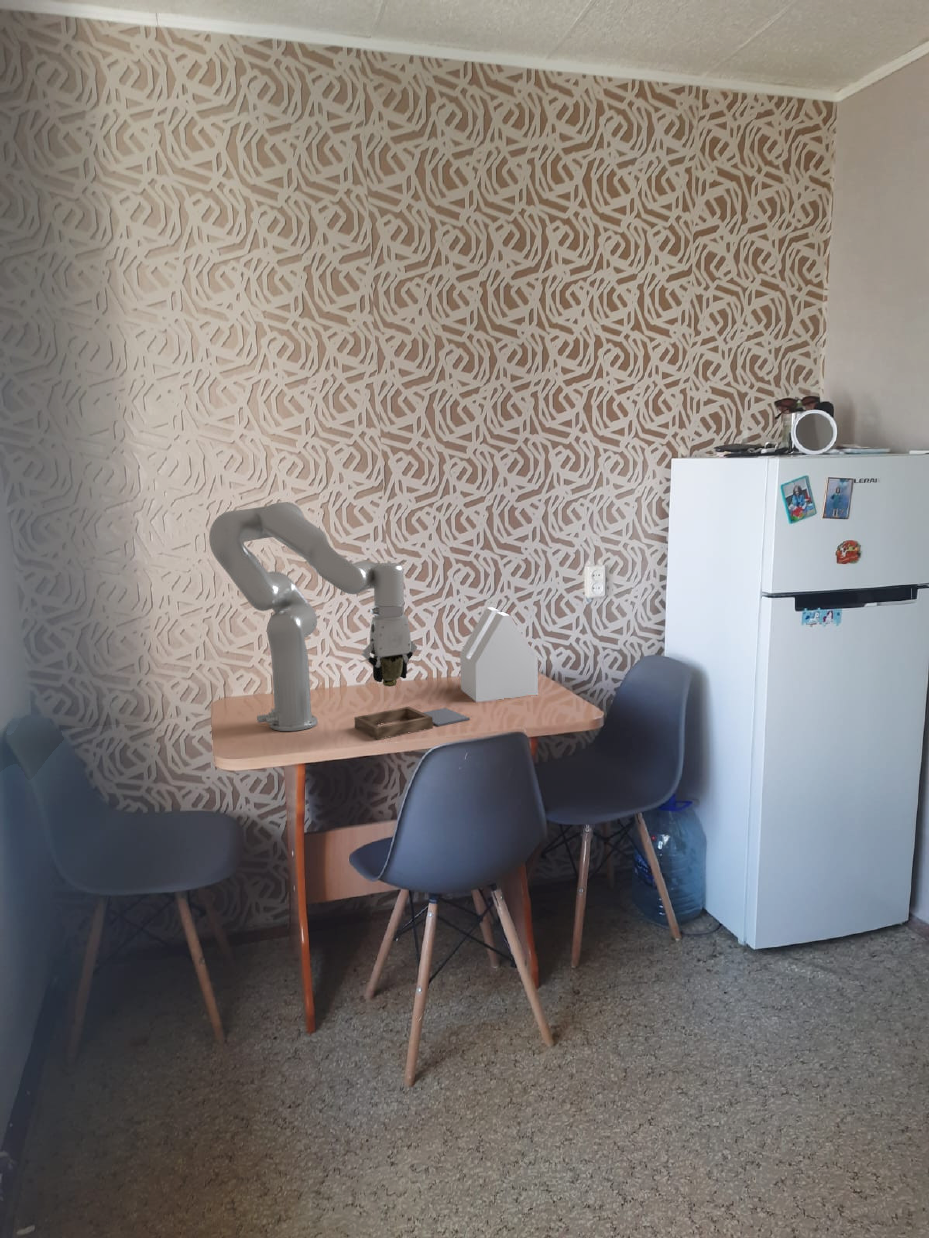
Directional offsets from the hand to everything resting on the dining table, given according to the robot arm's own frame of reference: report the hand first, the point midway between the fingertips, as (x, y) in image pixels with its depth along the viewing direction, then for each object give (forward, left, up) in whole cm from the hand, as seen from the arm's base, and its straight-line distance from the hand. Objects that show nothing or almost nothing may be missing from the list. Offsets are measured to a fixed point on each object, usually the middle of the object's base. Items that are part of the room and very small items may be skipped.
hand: (390, 678), depth 219 cm
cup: (0, 0, -2) cm, 2 cm away
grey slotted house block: (+43, +12, -14) cm, 47 cm away
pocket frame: (0, 0, -13) cm, 13 cm away
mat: (+15, 0, -13) cm, 20 cm away
